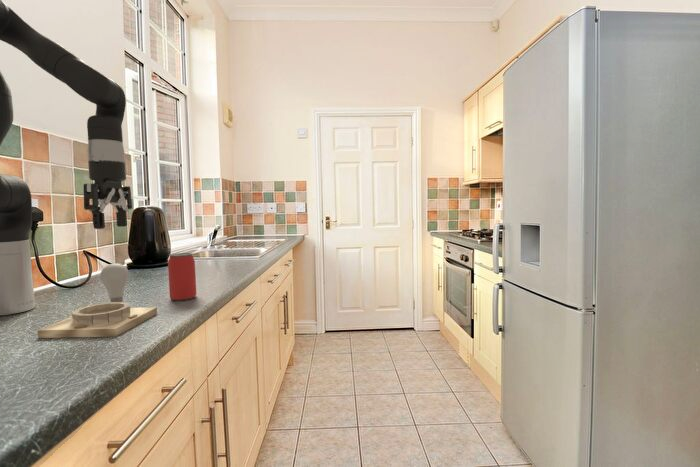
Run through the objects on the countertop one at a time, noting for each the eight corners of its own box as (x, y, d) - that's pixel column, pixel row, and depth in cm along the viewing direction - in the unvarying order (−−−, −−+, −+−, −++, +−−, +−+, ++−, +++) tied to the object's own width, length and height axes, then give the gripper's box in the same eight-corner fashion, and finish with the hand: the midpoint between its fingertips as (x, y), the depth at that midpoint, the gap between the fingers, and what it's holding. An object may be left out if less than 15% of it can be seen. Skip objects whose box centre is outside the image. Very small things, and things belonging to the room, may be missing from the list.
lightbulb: (136, 303, 95) (133, 261, 94) (119, 310, 89) (116, 265, 88) (114, 303, 96) (111, 261, 95) (96, 310, 90) (92, 265, 89)
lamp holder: (38, 337, 71) (36, 320, 71) (92, 314, 86) (91, 300, 86) (115, 336, 71) (114, 318, 71) (157, 313, 86) (156, 298, 86)
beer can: (191, 294, 105) (188, 252, 104) (200, 297, 100) (198, 253, 100) (166, 298, 100) (163, 254, 100) (175, 302, 96) (172, 256, 95)
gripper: (110, 164, 97) (114, 226, 98) (69, 157, 83) (74, 229, 84) (139, 163, 97) (142, 225, 98) (102, 156, 83) (107, 229, 84)
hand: (111, 227), depth 91 cm, fingers open, 8 cm apart
